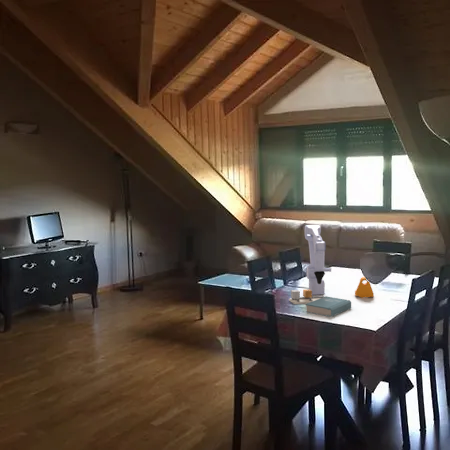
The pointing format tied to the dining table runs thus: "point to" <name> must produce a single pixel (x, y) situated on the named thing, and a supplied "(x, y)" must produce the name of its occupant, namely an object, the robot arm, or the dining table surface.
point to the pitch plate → (301, 298)
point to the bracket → (364, 289)
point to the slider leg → (307, 293)
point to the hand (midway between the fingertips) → (319, 283)
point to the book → (328, 306)
